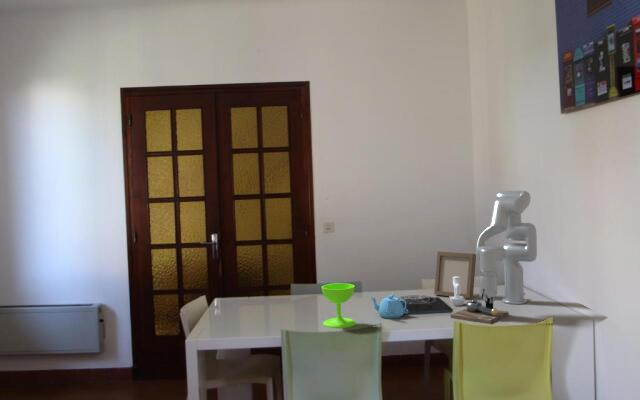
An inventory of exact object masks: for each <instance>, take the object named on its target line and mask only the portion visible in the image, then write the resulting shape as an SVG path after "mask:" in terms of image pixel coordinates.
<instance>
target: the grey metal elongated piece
mask: <svg viewBox="0 0 640 400" xmlns="http://www.w3.org/2000/svg"><path fill="white" fill-rule="evenodd" d="M482 304H483V303H482V302H481V301H477V299H471V300H470V301H467V302H466V308H467V311H468V312H481V311H483V312H487V313H490V314H493V315H497V314H498V310H499V309H497V308H494V307H493V308H489V307H486V305H485V306H484V305H482Z"/></svg>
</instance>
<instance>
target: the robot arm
mask: <svg viewBox="0 0 640 400" xmlns="http://www.w3.org/2000/svg"><path fill="white" fill-rule="evenodd" d="M530 203H531V194H530V193H529V192H528V191H526V190H502V191H498V192H496V195H495V200H494V201H493V205H492V209H491V210H492V211H491V215H490V220H489V226H487V227H486V228H485V229H484V230H483V231H482V232H481V234H480V235H479V237H478V238H477V242H476V248H475V254H476V259H478V260H479V262H480V263H479V269H480V270H479V271H480V280H479V297H480V298H482V300H483V302H484V303H485V307H489V308H494V300H495V299H494V298H496V296H497V295H498V282H497V277H498V276H497V274H498V273H497V262H503V267H504V298H502V299H501V300H502V303H504V304H510V305H523V304H524V305H525V304H526V303H528V300H527V299H526V298H525V296H526V293H525V291H524V289H525V288H524V268H523V266H522V264H521V262H525V263H528V262H529V263H531V262H535V261H536V260H537V255H538V244H537V243H538V242H537V241H538V240H537V235H538V234H537V228H536V225H534V224H533V223H532V222H522V214H523V213H524V212H525V210H527V208H528V207H529V205H530ZM500 233H504V236H505V239H506V240H508V241H519V242H507V243H505V244H504V245H502V246H501V245H489V244H488V245H486V243H487V242H488V240H489V239H490V238H492V237H494V236H497V235H499V234H500ZM520 241H522V242H523V243H521V242H520Z"/></svg>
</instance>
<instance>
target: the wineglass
mask: <svg viewBox="0 0 640 400" xmlns="http://www.w3.org/2000/svg"><path fill="white" fill-rule="evenodd" d="M355 287H356V285H354V284H351V283H345V282H344V283H343V282H342V283H341V282H340V283H339V282H338V283H328V284H324V285H322V286H321V293H322V294H323V296H324V297H325V298H326V300H327V301H329V302H331V303H334V304H336V317H333V318H328V319H326V320H324V321H323V322H322V326H323V327H326V328H329V329H345V328H346V329H347V328H351V327H353V326H356V325H357V321H355V320H354V319H353V318H347V317H342V305H341V304H343V303H345V302H348V301H349V300H350V299H352V296H353V295H354V292H355Z"/></svg>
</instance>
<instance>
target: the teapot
mask: <svg viewBox="0 0 640 400" xmlns="http://www.w3.org/2000/svg"><path fill="white" fill-rule="evenodd" d="M394 295H395V294H394V292H393V291H392V292H391V293H390V294H389V295H387V297H384V298H383V299H381V302H380V303H379V304H377V299H376V298H375V297H373V296H369V298H371V300H372V301H373V306H374V310H376V312H377V313H378V315H379V316H380V317H381V318H384V319H385V318H386V319H397V318H398V319H399V318H402V316H403V315H404V314H408V313H409V310H408V308H407V301H406V300H405V299H402V298H401V299H399V298H398V297H394ZM402 302H403V303H404V305H403V303H402Z"/></svg>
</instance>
